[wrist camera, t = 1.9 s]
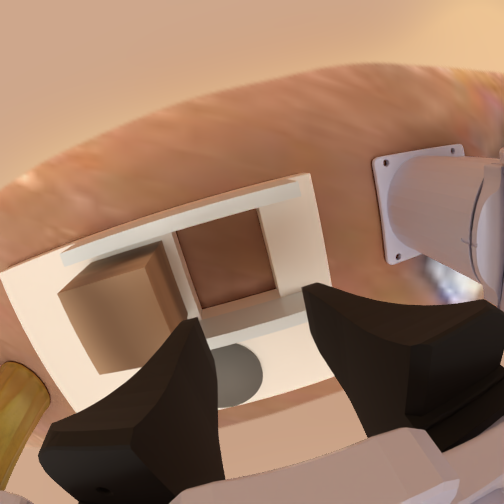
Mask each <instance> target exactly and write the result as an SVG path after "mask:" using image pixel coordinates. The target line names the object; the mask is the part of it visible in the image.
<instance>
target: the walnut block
mask: <svg viewBox="0 0 504 504" xmlns="http://www.w3.org/2000/svg"><path fill="white" fill-rule="evenodd" d="M57 295H58V297H59V299H60V301H61V304H62V306H63V308H64V310H65V312H66V314H67V316H68V318H69V320H70V322H71V324H72V326H73V328H74V330H75V332H76V334H77V336H78V338H79V340H80V342H81V344H82V346H83V347H84V349H85V351H86V353H87V355H88V356H89V358H90V360H91V362H92V363H93V365H94V367H95V368H96V370H97V372H98V373H99V375H102V374H108V373H114V372H120V371H125V370H130V369H136V368H141V367H143V366H144V365H145V364H146V363H147V361H148V360H149V359H150V358H151V357H152V356H153V355H154V354H155V353H156V351H157V350H158V349H159V348H160V347H161V346H162V344H163V343H164V342H165V341H166V339H167V338H168V337H169V336H170V334H171V333H172V332H173V331H174V329H175V328H176V327H177V326H178V324H179V323H180V322H181V321H183V320H187V317H188V312H187V310H186V307H185V304H184V302H183V299H182V296H181V294H180V291H179V288H178V286H177V283H176V280H175V277H174V274H173V272H172V269H171V266H170V263H169V260H168V257H167V254H166V251H165V248H164V245H163V242H162V240H161V241H157V242H154V243H151V244H147V245H144V246H141V247H138V248H135V249H131V250H128V251H125V252H122V253H119V254H116V255H113V256H110V257H106V258H103V259H100V260H97V261H94V262H91V263H90V264H89V265H88V266H86V267H85V268H84V269H83V270H82V271H81V272H80V273H79V274H78V275H77V276H76V277H74V278H73V279H72V280H71V281H70V282H69V283H68V284H67V285H66V286H65V287H64V288H63V289H62V290H61V291H60V292H59V293H57Z"/></svg>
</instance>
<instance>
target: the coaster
mask: <svg viewBox="0 0 504 504" xmlns="http://www.w3.org/2000/svg"><path fill="white" fill-rule="evenodd" d="M211 353H212V355H213V358H214V360H215V366H216V373H217V380H218V408H227V407H233V406H236V405H239V404H242V403H244V402H246V401H247V400H249V399H250V398H252V397H253V396H254V395H255V394H256V393H257V391H258V390H259V389H260V386H261V384H262V381H263V371H262V367H261V364H260V361H259V359H258V358H257V356H256V355H255V354H254V353H253V352H252V351H251V350H249V349H248V348H246V347H244V346H242V345H240V344H237V343H235V344H231V345H227V346H224V347H220V348H216V349H212V350H211Z"/></svg>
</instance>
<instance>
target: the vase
mask: <svg viewBox="0 0 504 504" xmlns="http://www.w3.org/2000/svg"><path fill="white" fill-rule="evenodd" d="M49 404H50V397H49V394H48V392H47V390H46V388H45V386H44V384H43V383H42V381H41V380H40V379H39V378H38V377H37V376H36V375H35V374H34V373H33V372H32V371H30V370H29V369H28V368H26V367H24V366H23V365H21V364H18V363H15V362H6V363H4V364H3V365H2V366H1V368H0V491H1V490H3V491H4V490H5V488H6V485H7V483H8V480H9V478H10V476H11V474H12V471H13V469H14V467H15V465H16V463H17V461H18V459H19V456H20V455H21V453H22V450H23V448H24V446H25V444H26V442H27V441H28V439H29V437H30V435H31V434H32V432H33V430H34V429H35V427H36V425H37V424H38V422H39V420H40V418H41V416H42V415H43V413H44V412H45V410H46V409H47V408H48V407H49Z"/></svg>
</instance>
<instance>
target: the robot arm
mask: <svg viewBox="0 0 504 504" xmlns="http://www.w3.org/2000/svg"><path fill="white" fill-rule="evenodd" d="M451 150H452V153H451ZM499 154H500V159H497V158H485V157H472V156H465V155H464V149H463V146H462V145H461V144H452V145H446V146H439V147H432V148H426V149H420V150H414V151H408V152H402V153H396V154H391V155H385V156H380V157H376V158H374V159H373V161H372V167H373V173H374V178H375V184H376V190H377V196H378V202H379V209H380V216H381V223H382V231H383V240H384V249H385V259H386V262H387V263H388V264H390V265H394V264H397V263H399V262H402V261H405V260H407V259H410V258H413V257H416V256H418V255H421V254H424V255H426V256H428V257H430V258H432V259H434V260H436V261H438V262H440V263H442V264H444V265H446V266H448V267H450V268H452V269H454V270H456V271H457V272H459V273H461V274H463V275H465V276H467V277H469V278H471V279H473V280H474V281H476V282H478V283H480V284H482V285H483V288H484V299H486V300H487V301H486V300H484V299H481V300H476V301H470V302H464V303H458V304H448V305H428V306H423V305H404V304H395V303H388V302H382V301H377V300H372V299H368V298H365V297H361V296H357V295H354V294H351V293H348V292H345V291H342V290H339V289H336V288H333V287H330V286H328V285H325V284H322V283H318V282H316V283H313V284H310V285H307V286H303V287H301V289H302V293H303V298H304V303H305V308H306V313H307V318H308V323H309V329H310V333H311V335H312V338H313V340H314V342H315V344H316V346H317V348H318V350H319V352H320V354H321V356H322V357H323V359H324V360H325V362H326V363H327V365H328V366H329V368H330V370H331V371H332V373H333V374H334V376H335V377H336V379H337V380H338V382H339V383H340V385H341V386H342V388H343V389H344V391H345V392H346V394H347V396H348V398H349V399H350V401H351V403H352V405H353V407H354V409H355V411H356V413H357V415H358V418H359V420H360V422H361V424H362V426H363V428H364V431H365V433H366V435H367V437H368V438H367V439H365V440H362V441H360V442H357V443H355V444H352V445H350V446H347V447H345V448H342V449H339V450H337V451H334V452H331V453H328V454H325V455H322V456H319V457H316V458H313V459H310V460H307V461H303V462H301V463H297V464H293V465H290V466H286V467H282V468H279V469H275V470H271V471H267V472H262V473H258V474H253V475H249V476H243V477H238V478H233V479H227V480H225V475H224V470H223V464H222V458H221V451H220V445H219V437H218V380H217V373H216V366H215V360H214V358H213V355H212V353H211V350H210V348H209V345H208V343H207V340H206V338H205V335H204V333H203V330H202V327H201V325H200V322H199V320H198V317H195V318H191V319H187V320H183V321H181V322H180V323H179V324H178V326H177V327H176V328H175V329H174V331H173V332H172V333H171V334H170V336H169V337H168V338H167V339H166V341H165V342H164V343H163V344H162V346H161V347H160V348H159V349H158V350H157V351H156V353H155V354H154V355H153V356H152V357H151V358H150V359H149V360H148V361H147V363H146V364H145V365H144V366H143V367H142V368H141V369H140V370H139V371H138V372H137V373H135V374H134V375H133V376H132V377H131V378H130V379H129V380H127V381H126V382H125V383H124V384H122V385H121V386H120V387H118V388H117V389H116V390H114V391H113V392H112V393H110V394H109V395H107V396H106V397H104V398H103V399H101V400H100V401H98V402H96V403H95V404H93V405H91V406H89V407H87V408H86V409H84V410H82V411H80V412H78V413H76V414H73V415H71V416H69V417H67V418H64V419H62V420H60V421H57V422H54V423H52V424H51V426H50V428H49V430H48V433H47V435H46V437H45V440H44V442H43V444H42V447H41V449H40V451H39V454H38V457H39V462H40V464H41V465H42V467H43V469H44V470H45V472H46V473H47V474H48V475H49V476H50V477H51V478H52V479H53V480H54V481H55V482H56V483H57V484H59V485H60V486H61V487H62V488H63V489H64V490H65V491H67V492H68V493H69V494H70V495H71V496H73V497H74V498H75V499H76V500H78V501H79V503H78V504H504V367H503V366H501V365H500V362H501V359H502V355H503V351H504V147H503V148H501V149H500V151H499ZM384 160H386V166H384V164H383V161H384ZM397 254H399V255H398V258H396V255H397ZM488 301H489V302H491V303H492V304H491V303H489V302H488ZM493 304H494V305H496V306H497V307H496V306H494V305H493ZM0 504H33V503H32V502H30V501H29V500H28V499H26V498H24V497H22V496H19V495H17V494H13V493H10V492H6V491H3V490H1V491H0Z"/></svg>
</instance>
